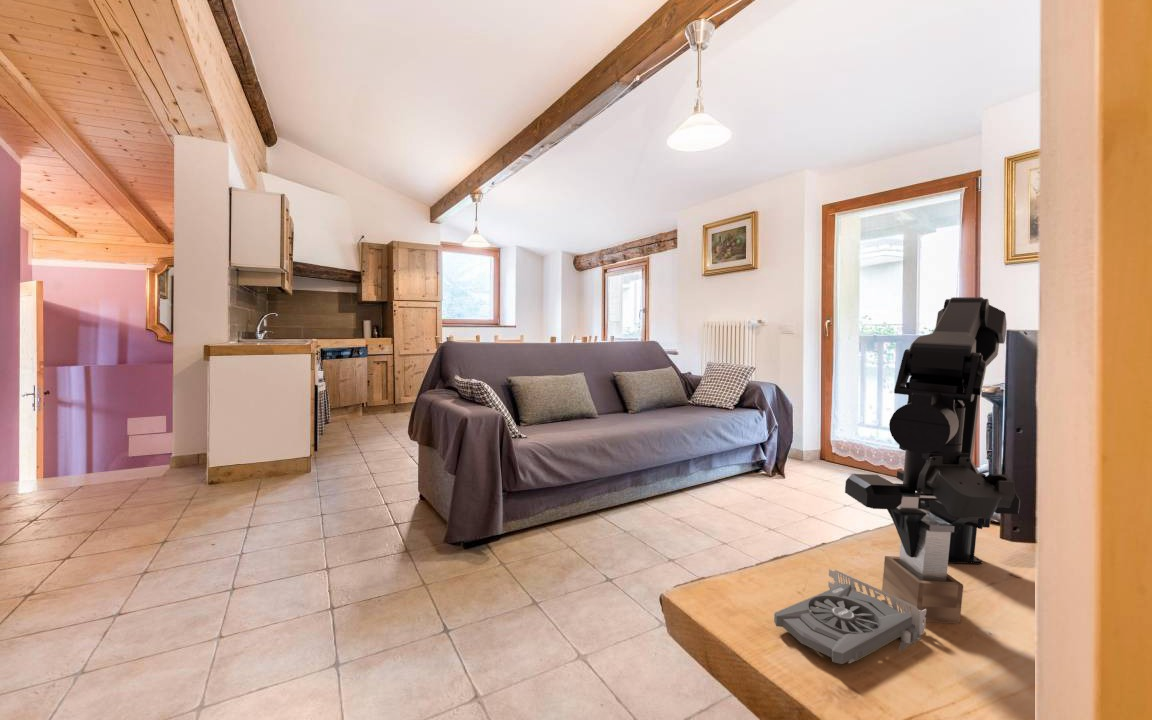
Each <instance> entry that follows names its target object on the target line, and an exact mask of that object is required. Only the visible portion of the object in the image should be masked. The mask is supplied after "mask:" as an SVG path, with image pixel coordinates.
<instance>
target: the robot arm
mask: <svg viewBox="0 0 1152 720" xmlns="http://www.w3.org/2000/svg"><path fill="white" fill-rule="evenodd" d="M1006 335H1007V315H1006V312H1005V311H1003V310H1001V309H999V308H997V307H995V306H993V305H990V301H989V299H988V298H983V296H975V297H974V296H973V297H972V296H971V297H970V296H969V297H968V296H967V297H966V296H964V297H962V296H960V297H959V296H958V297H951V298H946V299H945V301H944V304H943V308H941V309H940V310H939V311H938V312H937V316H936V323H935V327H934V330H933V332H932V333H929V334H925V335H921V336H918V337H917V338H916V339H915V340H914V341H913V342H912V343H911V344H910V347H909V349H908V348H906V349H905V350H904V351H903V355H902V359H901V362H900V366H899V370H898V373H897V377H896V382H895V386H894V390H893V393H894V394H895V395H903V396H904V395H905V396H908V397H907V403H906V404H903V405H902V406H900V407H898V408H897V409H896V410H895V411H894V413H893V414H892V416H891V418H890V419H889V424H888V425H889V427H888V428H889V431H890V434H891V437H892V438H893V439H894V441H895V443H896V444H898V449H899V450H902V451H903V452H905V453H904V454H905V455H904V466H903V470H897V471H896V479H897V480H899V481H901V482H902V483H893V481H892V482H891V481H889V480H888V479H886V478H884V477H882V476H880V475H878V474H867V473H866V474H865V473H851V474H850V475H849V477H847V479H846V480H845V487H844V493H845V494H847V495H848V496H849V497H851V498H852V499H854V500H855V501H857V502H858V503H860V504H861V505H862V506H864V507H866V508H870V509H873V510H887V512H888V514H889V516H890V517H891V519H892V522H893V524H894V526H895V529H896V531H897V534H898V537H899V539H900V543H901V542H902V544H903V547H904V549H905V552H906V554H907V555H908V556H910V557H914V556H915V552H916V548H917V537H918V525H919V521H920V520H921V519H922V518H923V517H924V516H925V515H926V513H924V512H923V511H921V510H919V509H925V510H927V511H928V512H930V513H932V514H934V515H935V516H937V517H939V518H941V519H943V520H944V521H946V522H948V523H950V524H951V525H953V526H955V527H954V532H951V536H950V546H949V556H948V564H949V563H953V564H955V563H956V564H975V565H978V564H979V565H982V564H983V559H981V558H979V557H977V556H976V555H975V553H976V552H975V551H976V543H977V542H976V540H977V531H978V529H979V530H983V528H990V527H991V519H992V518H993V516H994V514H1000V515H1001V514H1003V515H1005V514H1006V515H1019V512H1020V506H1021V499H1020V497H1019V496H1018V494H1017V493H1016V491H1015V480H1013V479H1012V478H1010V477H1009V476H1008V475H1007V474H1001V473H1000V474H996V473H989V474H987V475H986V474H985V473H980V472H979V470H978V468H977V466H976V465H975V462H974V461H973V455H974V449H975V440H976V432H977V431H976V430H977V423H978V414H979V406H980V398H981V394H982V389H983V385H984V381H985V375H986V370H987V367H988V366H989V365H990V364H991V363H992V362H993V360H995V359H996V358H997V357H998V354H999V348H1000V344H1003V345H1004V344H1005V340H1006V337H1007V336H1006Z"/></svg>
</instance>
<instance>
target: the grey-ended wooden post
mask: <svg viewBox="0 0 1152 720" xmlns="http://www.w3.org/2000/svg"><path fill="white" fill-rule="evenodd" d="M919 510H921V511H923V512H924V513H926V515H925V516H924V517H923V518H922V519H921V520H920V521H919V525H918V537H917V548H916V552H915V556H914V557H910V556H908V555H907V554H906V552H905V549H904V547H903V544H902V542H901V541H900V546H899V547H900V548H899V557H900V558H899V564H900V565H901V566H902V567H904V568H905V569H906V570H908V571H909V572H910V573H911V574H913V575H914V576H915V577H917V578H918V579H919V580H920V581H940V582H946V577H947V574H948V565H949V562H948V556H949V546H950V536H951V532H954V527H955V526H953V525H951V524H950V523H948V522H946V521H944V520H943V519H941V518H939V517H937V516H935V515H934V514H932V513H930V512H928V511H927V510H925V509H919Z"/></svg>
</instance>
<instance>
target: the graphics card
mask: <svg viewBox="0 0 1152 720" xmlns="http://www.w3.org/2000/svg"><path fill="white" fill-rule="evenodd" d="M828 577H829V578H831V579H833V581H834V582H831V581H828V582H827V583H828V584H827V585H828V586H827V587H828V588H829V589H828V590H825V591H823V592H820V593H818V594H816V595H814V596H811V597H809V598H807V599H804V600H801V601H800V602H797V603H795V604H792V605H789V606H787V607H785V608H782V609H780V610H777V611H775V612H774V614H773V615H774V618H773V619H774V621H773V622H774V624H775V626H776V627H780V628H783V629H784V630H786V632H788V633H789V634H790V635H792V636H793V637H794V638H795V639H796V640H797V641H798V642H799V643H801V644H802V645H803V646H807V647H808V648H810V649H813V650H815V651H816V652H819V653H821V654H824V655H825V656H827V657H829V658H831V661H832V663H835V664H839V665H843V664H845V663H848V664H852V663H854V662H855V661H856V662H857V661H859V660H861V659H862V658H864V657H867V656H868V655H870V654H871V653H874V652H876V651H877V650H879V649H881V648H882V647H884V646H886V645H887V644H889V643H891V642H893V641H895V640H896V639H898V638H900V642H899V648H898V652H901V651H902V650H904V649H905V648H907V647H909V646H911V645H912V644H914V643H917V641H919V640H921V639H922V635H924V634H925V633H926V631H925V629H926V623H927V622H926V617H925V615H926V611H927V609H924V610H922V611H920V610H918V608H917V607H916V606H914V605H912V604H910V603H908V602H905V601H903V600H901V599H899V598H897V597H894V596H892V595H890V594H888V593H886V592H884V591H882V589H879V588H877V587H874V586H873V585H871V584H868V583H867V582H864V581H862V580H860V579H858V578H855V577H852V576H851V575H849V574H847V573H844V572H843V571H840V570H837V569H835V570H832V569H828ZM855 583H857V586H858V587H859V588H858V589H859V591H857V590H858V589H857V587H856V584H855ZM863 586H864V589H865V591H866V593H867V594H866V593H864V589H863ZM870 590H872V591H873V595H874V596H872V594H871V591H870ZM881 596H883V597H884V599H879V598H878V597H881ZM888 598H889V599H890V603H891V604H890V603H889V601H888ZM897 601H898V605H897ZM900 602H901V606H902V608H900ZM903 603H904V606H905V611H904V609H903ZM906 605H907V606H908V612H907V609H906ZM909 606H910V607H911V611H912V616H911V614H910V608H909ZM923 620H924V622H923Z"/></svg>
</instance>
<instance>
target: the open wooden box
mask: <svg viewBox="0 0 1152 720" xmlns="http://www.w3.org/2000/svg"><path fill="white" fill-rule="evenodd" d="M899 558H900V556H895V555H893V556H889V555H884V561H883V572H882V573H883V574H882V585H881V587H882V588H881V591H884V592H886V593H888V594H890V595H892V596H894V597H897V598H899V599H901V600H903V601H905V602H908V603H910V604H912V605H914V606H916V607H917V608H918V610H920V611H922V610H924V609H927V611H926V615H925V617H926V623H942V624H944V623H945V624H960V623H961V614H962V603H963V595H964V594H963V593H964V583H961V582H960V581H958V580H957V579H955V577H952V575H950V574H949V573H947V577H946V582H940V581H920V580H919V579H918V578H917V577H915V576H914V575H913V574H911V573H910V572H909V571H908V570H906V569H905V568H904V567H902V566H901V565H900V564H899ZM897 606H898V601H897ZM909 608H910V614H911V616H912V611H911V607H910V606H909ZM900 609H902V606H901V602H900ZM903 609H904V612H905V606H904V603H903ZM906 609H907V612H908V606H907V605H906ZM923 622H924V620H923Z"/></svg>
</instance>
